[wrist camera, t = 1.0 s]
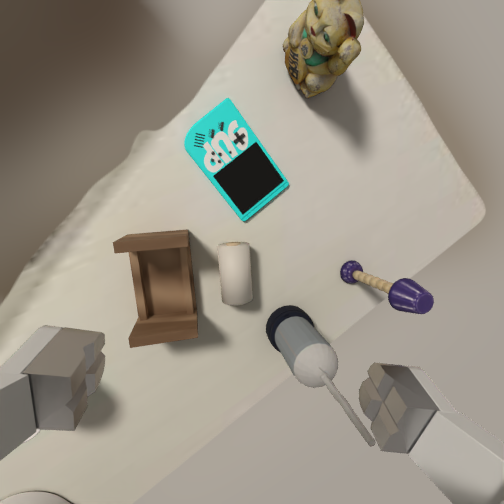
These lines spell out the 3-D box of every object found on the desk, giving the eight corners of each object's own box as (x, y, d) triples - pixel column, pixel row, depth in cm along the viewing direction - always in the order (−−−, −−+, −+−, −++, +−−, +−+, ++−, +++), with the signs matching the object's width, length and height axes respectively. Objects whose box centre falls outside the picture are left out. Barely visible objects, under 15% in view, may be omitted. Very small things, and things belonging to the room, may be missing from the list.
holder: (197, 314, 47) (197, 337, 39) (141, 322, 45) (130, 347, 38) (188, 229, 44) (186, 235, 36) (127, 234, 42) (112, 242, 35)
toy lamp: (356, 253, 51) (431, 279, 35) (368, 273, 52) (445, 305, 36) (335, 270, 51) (401, 303, 35) (348, 289, 52) (417, 329, 36)
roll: (248, 293, 48) (256, 303, 44) (219, 298, 47) (225, 308, 42) (244, 239, 47) (252, 243, 42) (214, 242, 45) (219, 247, 41)
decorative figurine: (268, 49, 42) (307, -30, 27) (312, 19, 42) (373, -75, 28) (301, 109, 44) (354, 65, 30) (342, 79, 45) (413, 22, 30)
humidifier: (278, 355, 51) (351, 492, 27) (258, 320, 49) (318, 435, 25) (315, 332, 52) (419, 446, 28) (297, 297, 50) (393, 387, 26)
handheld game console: (228, 98, 42) (229, 95, 41) (289, 184, 47) (291, 183, 45) (177, 139, 42) (176, 137, 41) (242, 222, 46) (244, 223, 45)
